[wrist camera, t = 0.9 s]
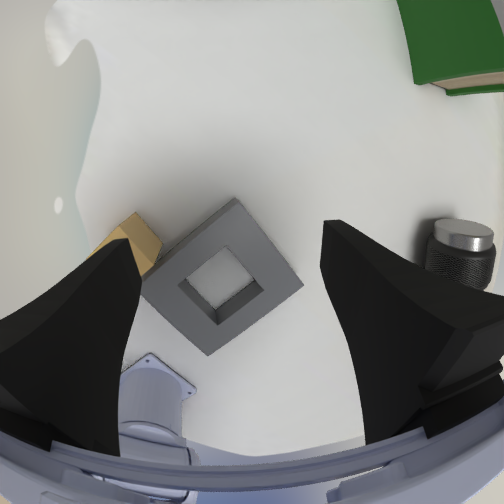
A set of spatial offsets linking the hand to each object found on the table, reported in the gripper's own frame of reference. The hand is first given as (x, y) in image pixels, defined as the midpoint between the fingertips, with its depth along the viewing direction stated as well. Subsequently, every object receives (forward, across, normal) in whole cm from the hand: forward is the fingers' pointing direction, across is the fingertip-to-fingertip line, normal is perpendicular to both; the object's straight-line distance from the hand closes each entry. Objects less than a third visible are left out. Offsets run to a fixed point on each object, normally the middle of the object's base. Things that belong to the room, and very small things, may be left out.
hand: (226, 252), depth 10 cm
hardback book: (+25, -26, -15) cm, 40 cm away
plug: (+14, +10, +7) cm, 18 cm away
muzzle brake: (+15, -26, +23) cm, 37 cm away
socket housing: (+14, +2, +12) cm, 18 cm away
